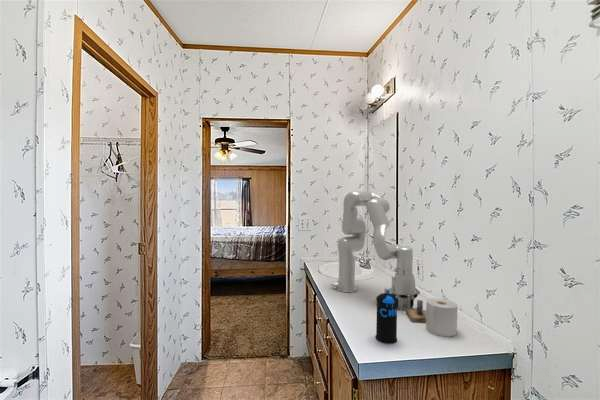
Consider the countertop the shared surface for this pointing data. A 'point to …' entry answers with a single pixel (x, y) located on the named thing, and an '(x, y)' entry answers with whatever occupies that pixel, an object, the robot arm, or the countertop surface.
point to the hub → (404, 302)
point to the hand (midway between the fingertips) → (403, 306)
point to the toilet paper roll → (441, 317)
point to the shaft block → (417, 313)
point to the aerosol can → (386, 317)
